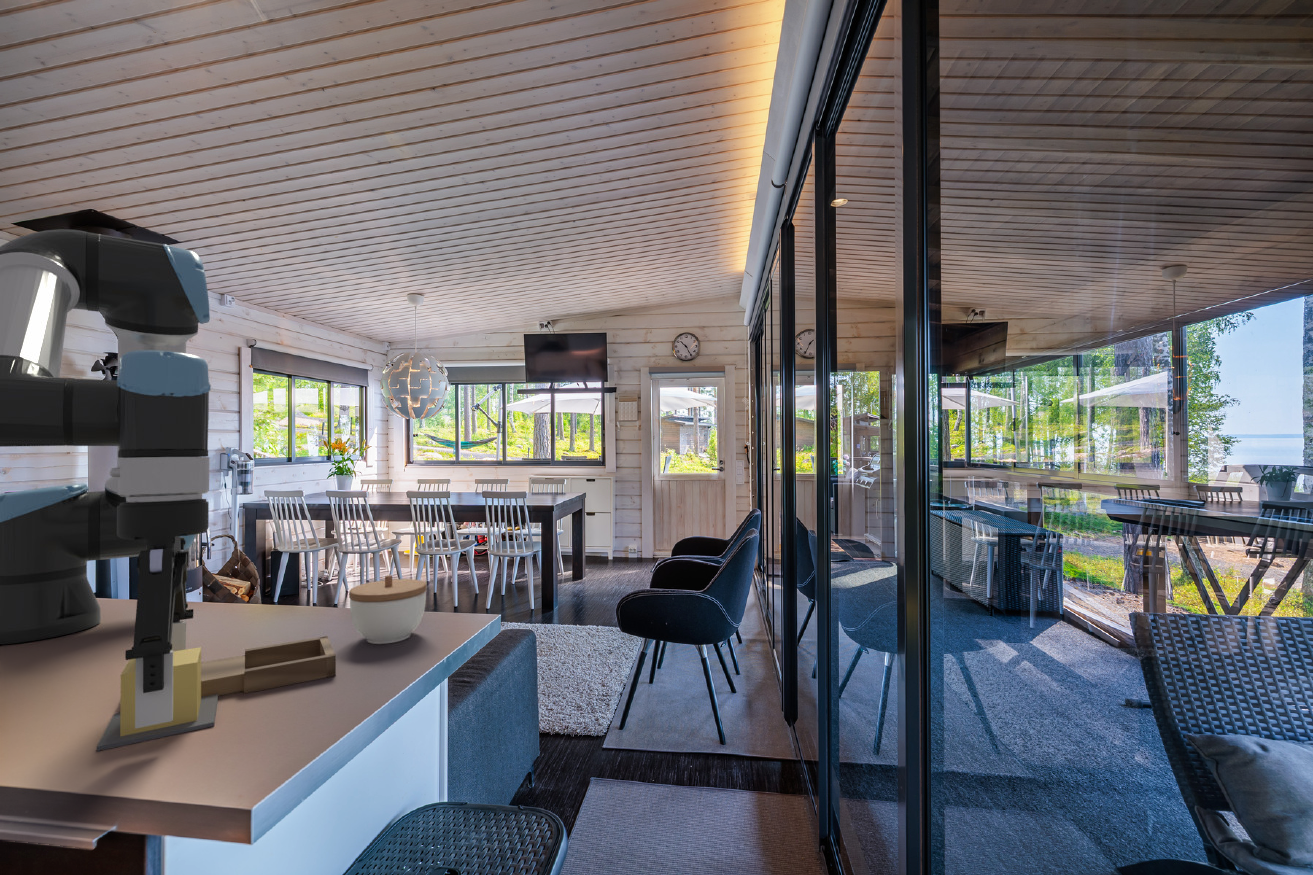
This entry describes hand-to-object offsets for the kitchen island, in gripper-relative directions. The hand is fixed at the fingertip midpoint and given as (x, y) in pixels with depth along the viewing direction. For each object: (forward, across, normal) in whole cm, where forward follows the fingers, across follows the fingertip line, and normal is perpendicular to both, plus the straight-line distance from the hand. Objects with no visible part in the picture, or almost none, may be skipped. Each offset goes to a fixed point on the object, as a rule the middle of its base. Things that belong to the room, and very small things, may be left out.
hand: (163, 702), depth 63 cm
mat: (+2, 0, 0) cm, 2 cm away
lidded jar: (+2, -18, +25) cm, 31 cm away
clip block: (-1, 0, 0) cm, 1 cm away
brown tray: (+2, -10, +7) cm, 12 cm away
